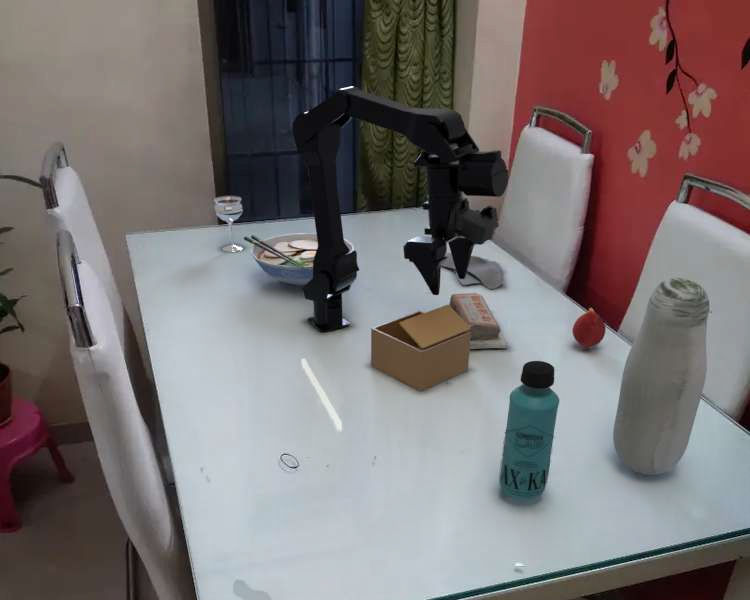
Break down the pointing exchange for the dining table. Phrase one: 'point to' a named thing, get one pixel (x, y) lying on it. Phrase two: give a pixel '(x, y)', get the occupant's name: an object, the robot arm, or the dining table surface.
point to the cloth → (478, 271)
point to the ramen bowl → (288, 256)
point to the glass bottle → (663, 379)
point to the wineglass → (229, 215)
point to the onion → (589, 329)
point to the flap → (434, 326)
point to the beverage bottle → (529, 433)
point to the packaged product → (478, 321)
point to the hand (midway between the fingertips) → (449, 286)
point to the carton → (417, 355)
